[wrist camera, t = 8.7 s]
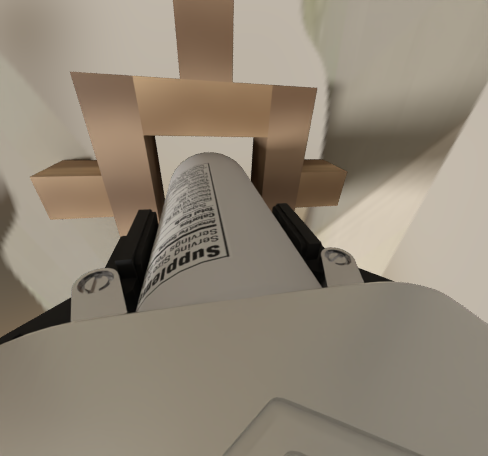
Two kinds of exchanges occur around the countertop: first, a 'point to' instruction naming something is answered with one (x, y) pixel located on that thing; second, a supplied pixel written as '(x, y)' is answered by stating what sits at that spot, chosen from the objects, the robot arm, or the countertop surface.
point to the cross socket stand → (186, 129)
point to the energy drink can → (218, 241)
